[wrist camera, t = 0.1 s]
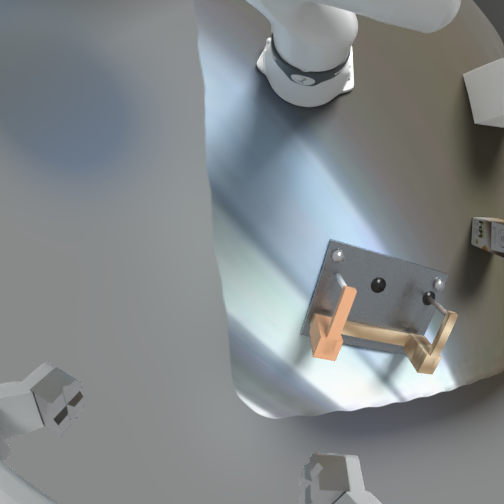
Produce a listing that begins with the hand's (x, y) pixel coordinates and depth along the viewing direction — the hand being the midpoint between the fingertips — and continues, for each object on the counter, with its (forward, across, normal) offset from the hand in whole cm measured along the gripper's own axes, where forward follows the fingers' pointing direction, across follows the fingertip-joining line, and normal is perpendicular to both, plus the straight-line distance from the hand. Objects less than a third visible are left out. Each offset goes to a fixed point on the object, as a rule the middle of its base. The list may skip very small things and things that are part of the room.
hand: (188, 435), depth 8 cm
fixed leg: (+47, -26, +11) cm, 54 cm away
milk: (+48, -42, -43) cm, 77 cm away
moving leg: (+46, -15, +11) cm, 49 cm away
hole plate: (+48, -26, +9) cm, 55 cm away
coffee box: (+48, -48, -13) cm, 69 cm away
